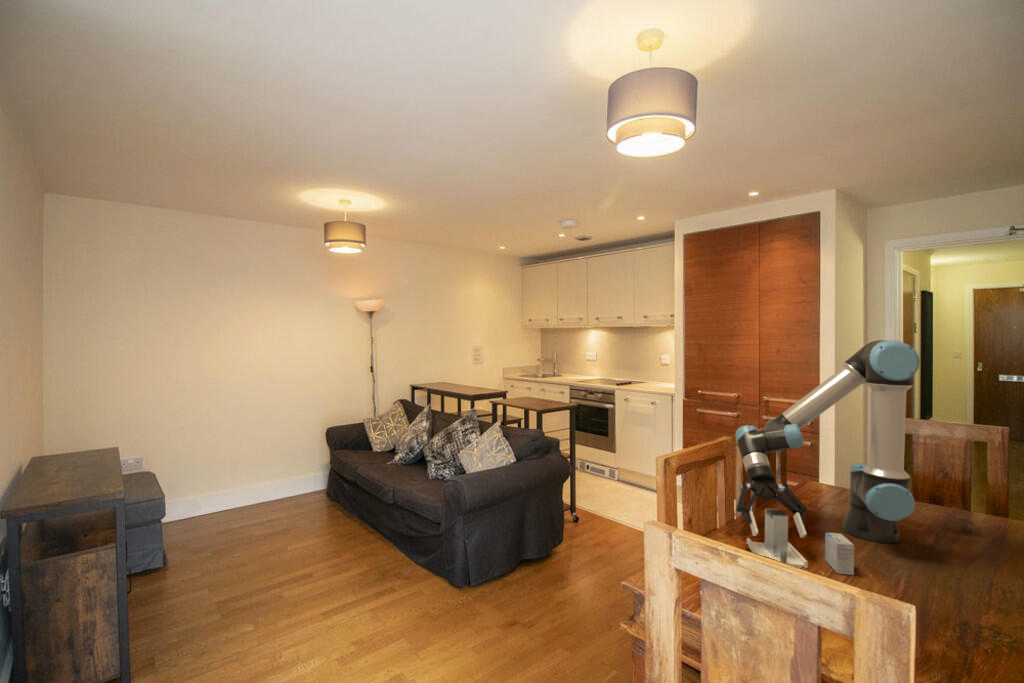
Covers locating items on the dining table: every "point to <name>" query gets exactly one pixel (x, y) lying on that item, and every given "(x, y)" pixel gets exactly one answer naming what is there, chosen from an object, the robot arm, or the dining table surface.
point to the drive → (776, 531)
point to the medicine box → (839, 553)
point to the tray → (790, 555)
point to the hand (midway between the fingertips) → (779, 535)
